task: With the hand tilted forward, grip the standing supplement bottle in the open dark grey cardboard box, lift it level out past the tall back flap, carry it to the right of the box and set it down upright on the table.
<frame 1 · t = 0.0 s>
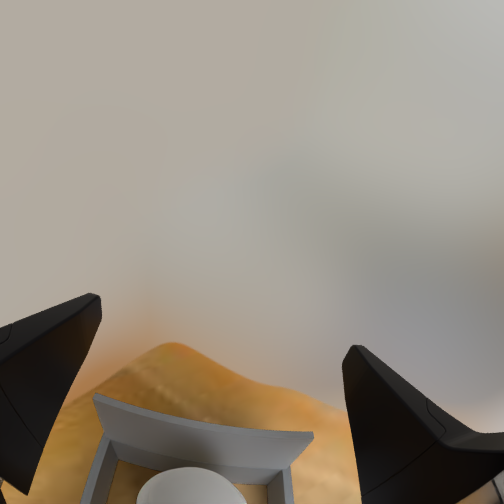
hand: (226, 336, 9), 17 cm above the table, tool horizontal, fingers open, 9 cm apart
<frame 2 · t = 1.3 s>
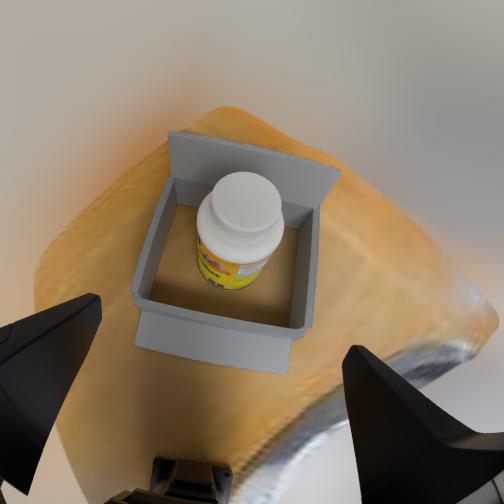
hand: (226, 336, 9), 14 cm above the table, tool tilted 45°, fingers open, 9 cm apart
supplement bottle: (228, 263, 24), resting in carton
carton: (228, 264, 24), on the table
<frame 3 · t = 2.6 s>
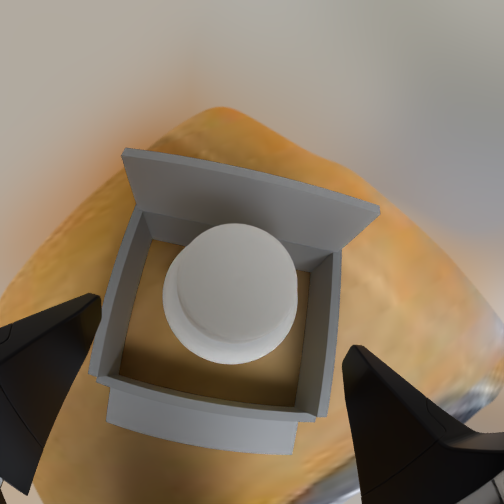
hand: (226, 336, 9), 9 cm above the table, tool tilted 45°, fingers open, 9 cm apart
supplement bottle: (219, 321, 18), resting in carton
carton: (218, 324, 18), on the table
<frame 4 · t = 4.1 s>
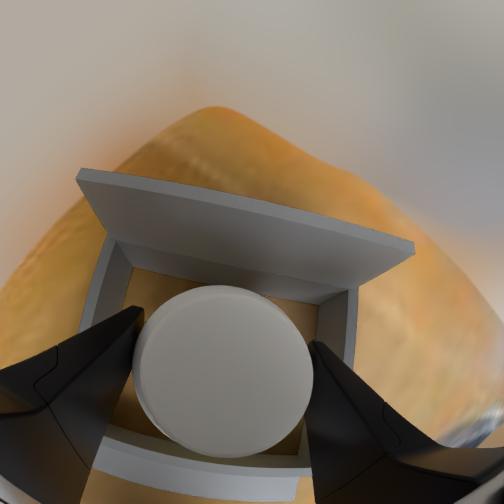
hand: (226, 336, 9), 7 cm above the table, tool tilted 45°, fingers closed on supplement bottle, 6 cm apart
supplement bottle: (212, 365, 15), resting in carton, touching gripper
carton: (211, 369, 15), on the table
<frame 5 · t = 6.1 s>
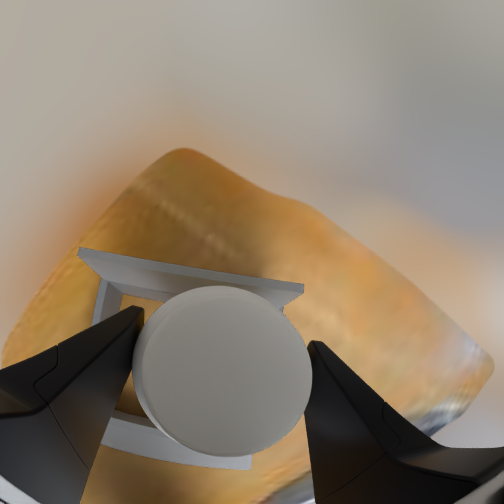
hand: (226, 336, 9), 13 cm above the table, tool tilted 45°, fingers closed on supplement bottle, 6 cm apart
supplement bottle: (210, 364, 15), point 6 cm above the table, touching gripper
carton: (182, 366, 20), on the table
when the fingers open (8 cm above the table, at t = 8.5 s): supplement bottle stays where it is, on the table.
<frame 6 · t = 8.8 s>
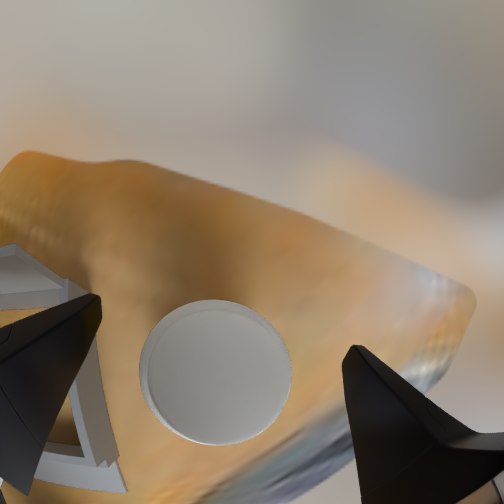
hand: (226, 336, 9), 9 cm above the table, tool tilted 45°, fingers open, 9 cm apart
supplement bottle: (210, 367, 16), on the table
carton: (26, 375, 13), on the table
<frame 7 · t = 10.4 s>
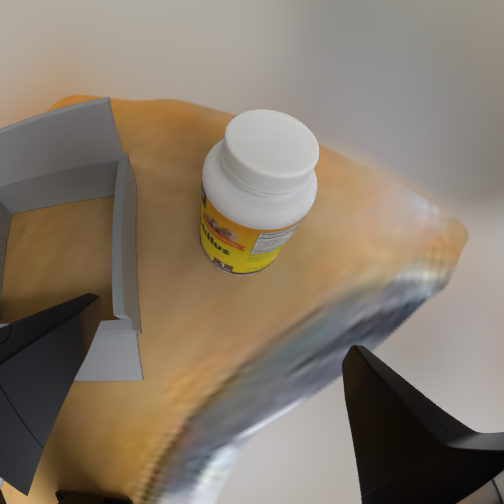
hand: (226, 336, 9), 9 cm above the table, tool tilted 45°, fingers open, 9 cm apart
supplement bottle: (238, 242, 20), on the table
carton: (56, 261, 16), on the table
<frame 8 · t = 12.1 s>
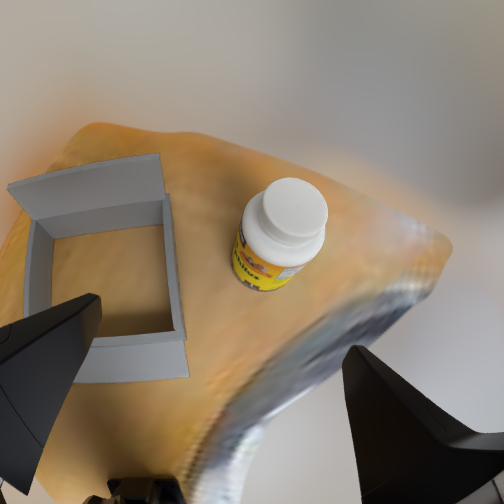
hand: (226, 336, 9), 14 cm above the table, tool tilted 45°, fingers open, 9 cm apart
supplement bottle: (260, 264, 25), on the table
carton: (106, 282, 21), on the table
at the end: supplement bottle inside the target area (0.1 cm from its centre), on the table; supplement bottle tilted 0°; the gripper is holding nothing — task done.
